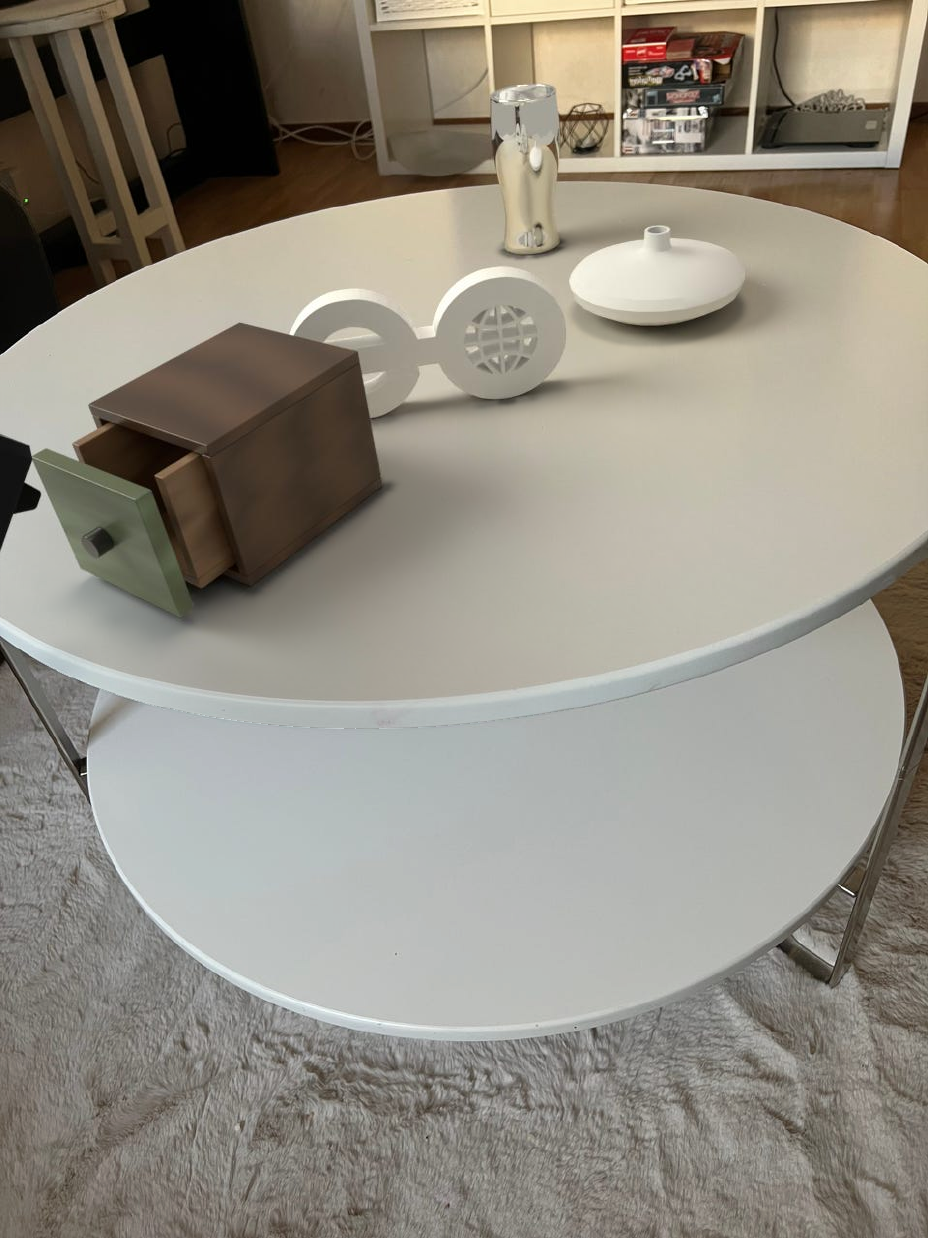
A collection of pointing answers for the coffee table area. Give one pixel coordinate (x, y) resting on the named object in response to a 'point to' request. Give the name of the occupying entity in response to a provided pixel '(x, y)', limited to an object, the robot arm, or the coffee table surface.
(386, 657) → the coffee table surface
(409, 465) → the coffee table surface
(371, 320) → the white flat cutout piece
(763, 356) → the coffee table surface
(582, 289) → the vase
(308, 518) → the cabinet
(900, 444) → the coffee table surface
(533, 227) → the beer glass
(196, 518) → the drawer
